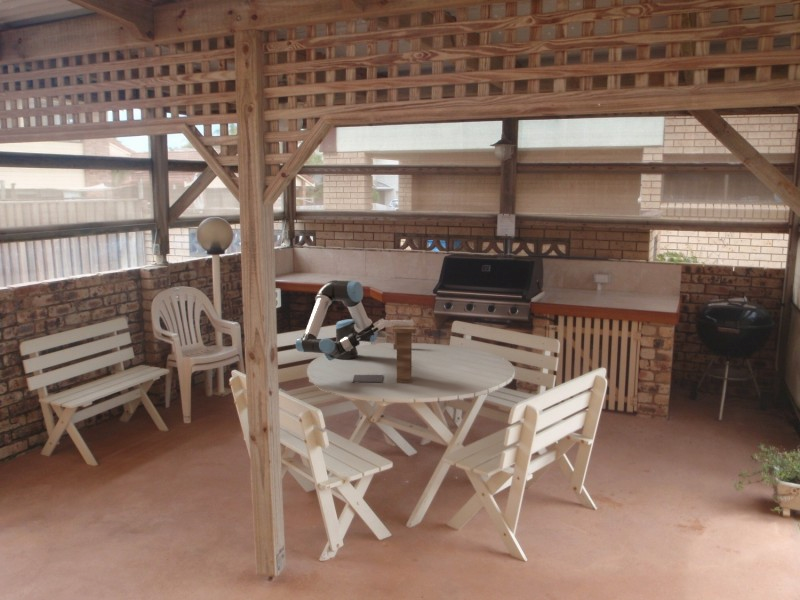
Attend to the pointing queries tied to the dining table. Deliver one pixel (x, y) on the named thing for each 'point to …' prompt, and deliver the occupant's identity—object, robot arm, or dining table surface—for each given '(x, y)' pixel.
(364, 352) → the dining table surface
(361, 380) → the rubber mat
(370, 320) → the robot arm
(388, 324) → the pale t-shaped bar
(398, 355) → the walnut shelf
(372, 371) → the dining table surface
